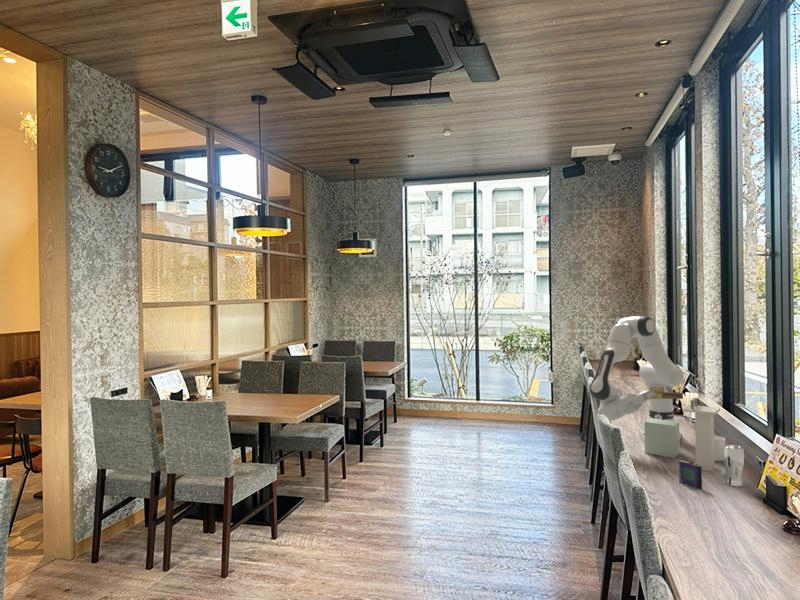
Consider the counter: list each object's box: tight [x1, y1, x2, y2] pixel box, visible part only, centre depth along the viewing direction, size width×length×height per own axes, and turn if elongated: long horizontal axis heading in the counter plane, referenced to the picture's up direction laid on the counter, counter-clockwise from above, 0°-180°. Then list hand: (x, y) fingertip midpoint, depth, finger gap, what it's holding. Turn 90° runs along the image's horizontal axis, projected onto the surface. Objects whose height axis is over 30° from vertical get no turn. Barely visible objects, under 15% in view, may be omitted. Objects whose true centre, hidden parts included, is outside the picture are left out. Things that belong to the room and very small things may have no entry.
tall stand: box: [683, 397, 721, 472], centre depth 231 cm, size 12×12×30 cm
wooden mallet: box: [650, 387, 684, 400], centre depth 244 cm, size 5×13×5 cm, turn 50°
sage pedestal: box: [644, 418, 681, 459], centre depth 253 cm, size 10×13×15 cm
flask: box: [678, 458, 703, 490], centre depth 209 cm, size 9×3×11 cm, turn 26°
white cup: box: [714, 435, 726, 462], centre depth 243 cm, size 8×8×10 cm
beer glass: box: [723, 444, 745, 488], centre depth 209 cm, size 7×7×15 cm
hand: (657, 391), depth 247 cm, fingers closed on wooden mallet, 5 cm apart
